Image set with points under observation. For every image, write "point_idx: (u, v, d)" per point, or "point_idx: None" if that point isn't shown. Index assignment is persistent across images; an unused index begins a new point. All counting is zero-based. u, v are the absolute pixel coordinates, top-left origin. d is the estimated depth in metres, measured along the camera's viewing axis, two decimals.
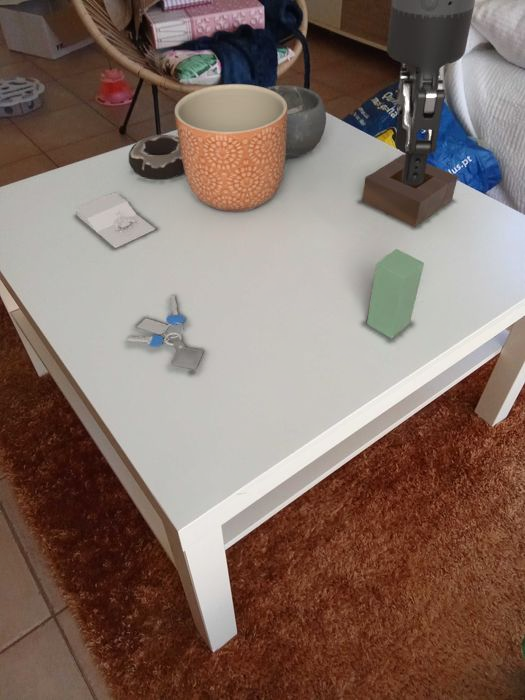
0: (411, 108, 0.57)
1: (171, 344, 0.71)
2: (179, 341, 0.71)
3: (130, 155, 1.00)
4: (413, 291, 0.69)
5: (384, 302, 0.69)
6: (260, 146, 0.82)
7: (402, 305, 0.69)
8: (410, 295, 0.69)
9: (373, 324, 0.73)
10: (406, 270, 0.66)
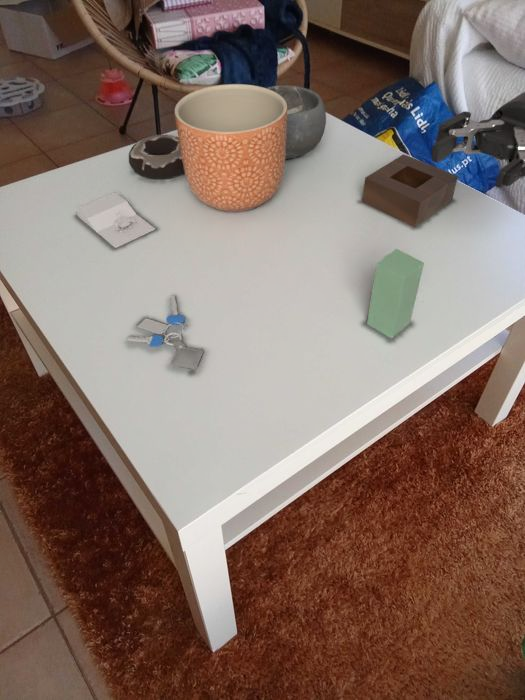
0: (477, 145, 0.72)
1: (171, 344, 0.71)
2: (179, 341, 0.71)
3: (130, 155, 1.00)
4: (413, 291, 0.69)
5: (384, 302, 0.69)
6: (260, 146, 0.82)
7: (402, 305, 0.69)
8: (410, 295, 0.69)
9: (373, 324, 0.73)
10: (406, 270, 0.66)
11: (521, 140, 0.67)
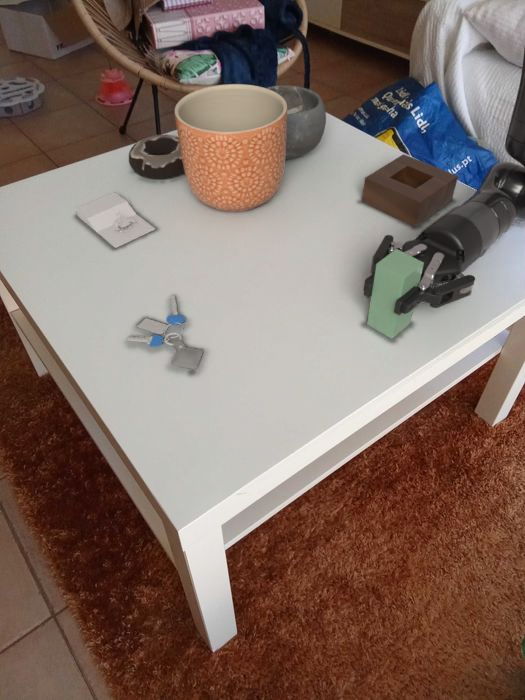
0: None
1: (171, 344, 0.71)
2: (179, 341, 0.71)
3: (130, 155, 1.00)
4: None
5: (384, 303, 0.69)
6: (260, 146, 0.82)
7: None
8: None
9: (373, 325, 0.73)
10: (406, 270, 0.66)
11: (431, 267, 0.70)
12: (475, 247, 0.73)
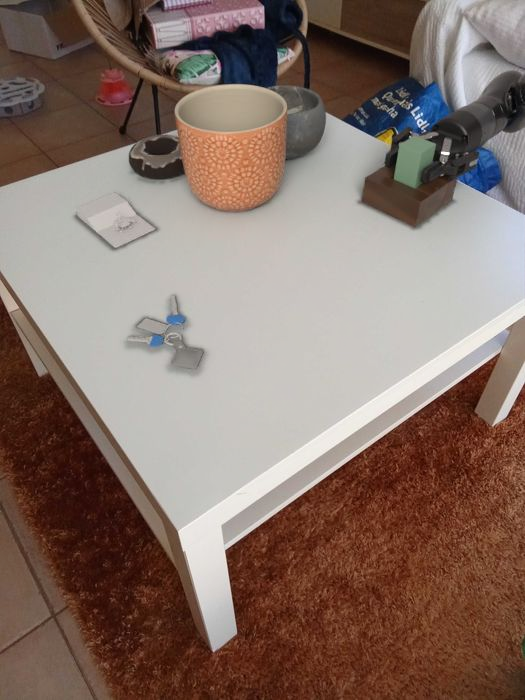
0: None
1: (171, 344, 0.71)
2: (179, 341, 0.71)
3: (130, 155, 1.00)
4: None
5: (404, 178, 0.89)
6: (260, 146, 0.82)
7: (419, 180, 0.89)
8: None
9: None
10: (422, 148, 0.86)
11: (445, 147, 0.89)
12: (476, 134, 0.92)
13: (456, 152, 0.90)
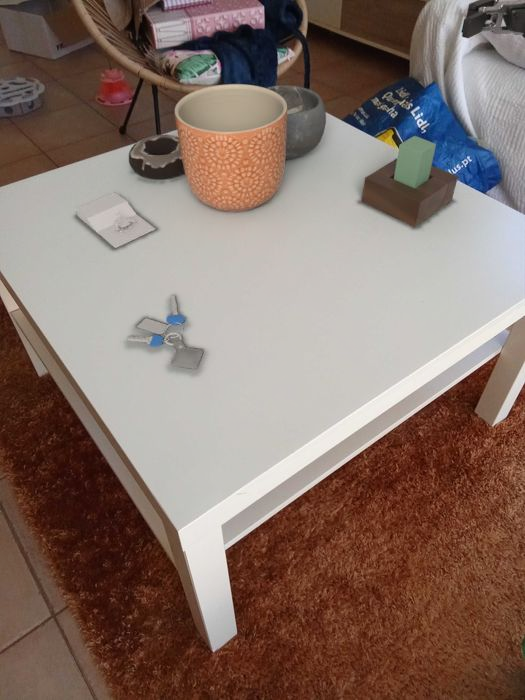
0: (506, 25, 0.72)
1: (171, 344, 0.71)
2: (179, 341, 0.71)
3: (130, 155, 1.00)
4: (427, 169, 0.89)
5: (404, 178, 0.89)
6: (260, 146, 0.82)
7: (419, 180, 0.89)
8: (425, 172, 0.89)
9: None
10: (422, 148, 0.86)
11: None
12: None
13: None
